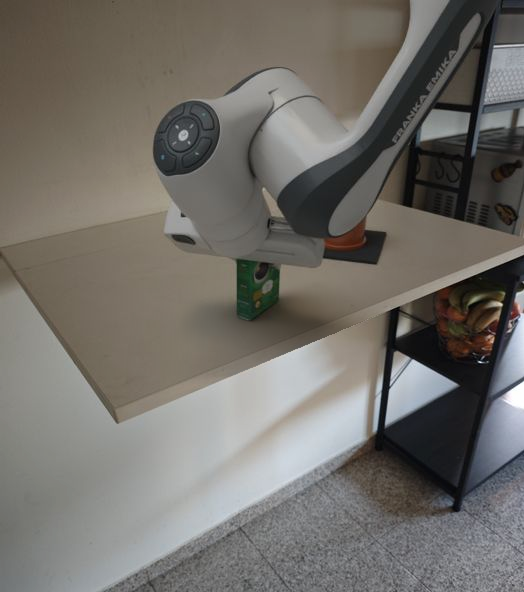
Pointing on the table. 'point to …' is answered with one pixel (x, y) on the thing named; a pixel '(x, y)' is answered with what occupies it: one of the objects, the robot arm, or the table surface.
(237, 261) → the coffee box
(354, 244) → the stand
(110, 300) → the table surface
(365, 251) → the mat
